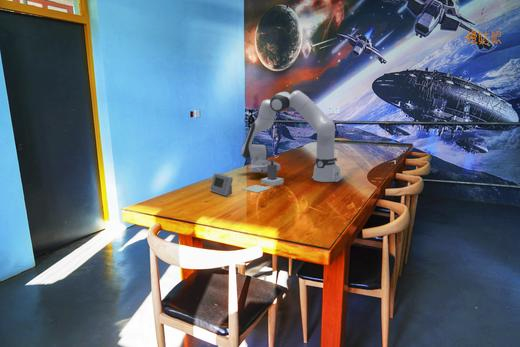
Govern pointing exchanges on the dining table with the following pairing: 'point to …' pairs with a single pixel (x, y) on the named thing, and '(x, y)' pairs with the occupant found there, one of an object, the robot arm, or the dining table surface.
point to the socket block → (272, 181)
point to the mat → (256, 188)
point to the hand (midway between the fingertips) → (268, 170)
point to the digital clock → (221, 184)
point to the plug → (272, 171)
